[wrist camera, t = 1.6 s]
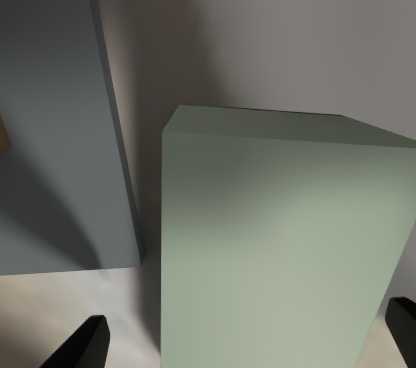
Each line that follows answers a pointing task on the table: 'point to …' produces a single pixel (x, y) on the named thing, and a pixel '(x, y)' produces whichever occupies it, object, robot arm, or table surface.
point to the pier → (3, 137)
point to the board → (61, 144)
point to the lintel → (278, 235)
